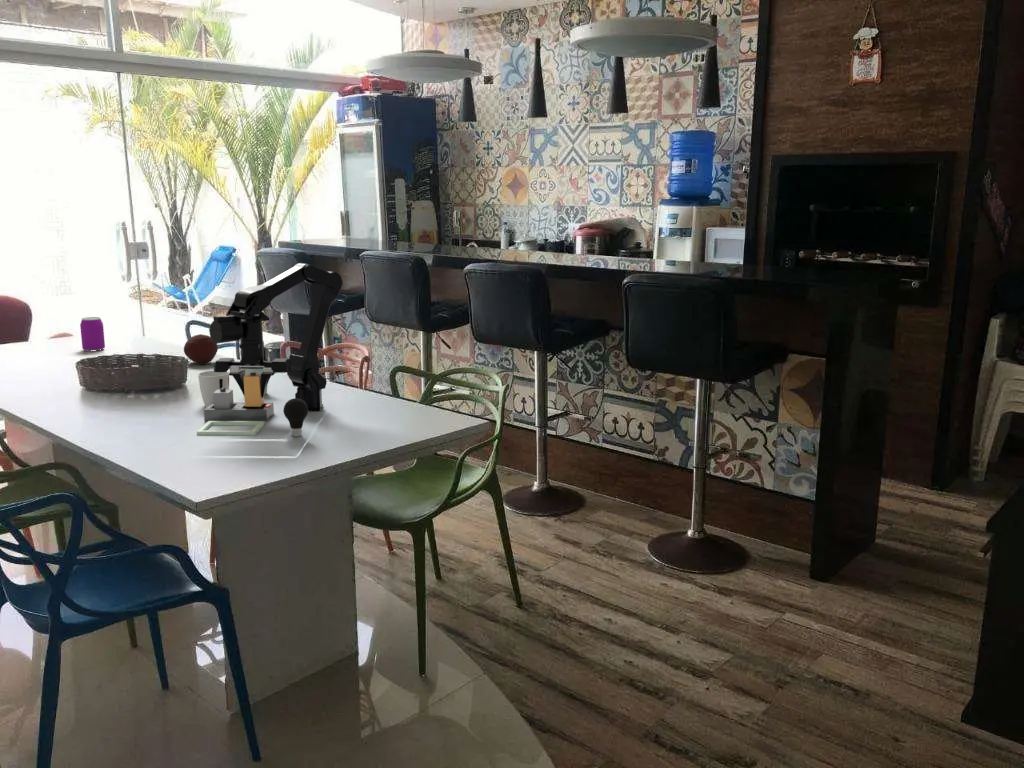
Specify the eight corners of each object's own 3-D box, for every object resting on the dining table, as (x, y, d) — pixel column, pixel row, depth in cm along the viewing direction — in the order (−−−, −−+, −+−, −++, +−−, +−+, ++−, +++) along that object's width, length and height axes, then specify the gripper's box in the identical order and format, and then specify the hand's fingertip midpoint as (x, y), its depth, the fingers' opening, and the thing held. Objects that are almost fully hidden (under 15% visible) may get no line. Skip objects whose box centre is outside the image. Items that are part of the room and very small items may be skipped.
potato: (209, 358, 307) (207, 330, 305) (225, 364, 298) (223, 335, 296) (178, 362, 300) (176, 333, 298) (193, 368, 291) (192, 338, 288)
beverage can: (77, 351, 317) (74, 319, 314) (91, 347, 324) (88, 316, 322) (96, 352, 316) (93, 320, 313) (109, 348, 323) (106, 317, 320)
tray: (264, 427, 219) (264, 421, 219) (255, 438, 210) (254, 431, 209) (209, 427, 219) (208, 420, 218) (197, 438, 209) (196, 431, 208)
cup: (221, 413, 233) (219, 377, 231) (194, 411, 235) (192, 375, 233) (236, 406, 241) (234, 371, 239) (210, 404, 243) (208, 369, 240)
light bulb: (296, 442, 207) (295, 402, 205) (279, 438, 210) (277, 399, 208) (314, 437, 212) (312, 398, 210) (297, 433, 215) (295, 394, 213)
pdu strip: (273, 417, 230) (273, 401, 229) (267, 424, 222) (266, 408, 221) (213, 416, 229) (212, 401, 228) (204, 424, 221) (203, 408, 220)
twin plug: (234, 415, 227) (232, 386, 226) (230, 419, 223) (228, 390, 222) (218, 415, 227) (217, 386, 225) (214, 418, 223) (212, 389, 222)
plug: (264, 402, 227) (262, 371, 225) (260, 406, 223) (259, 374, 221) (249, 402, 227) (247, 371, 225) (245, 406, 223) (243, 374, 221)
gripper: (294, 334, 230) (296, 390, 233) (223, 333, 229) (226, 390, 232) (285, 341, 219) (287, 400, 222) (211, 340, 218) (215, 400, 221)
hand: (254, 397), depth 225 cm, fingers closed on plug, 4 cm apart
